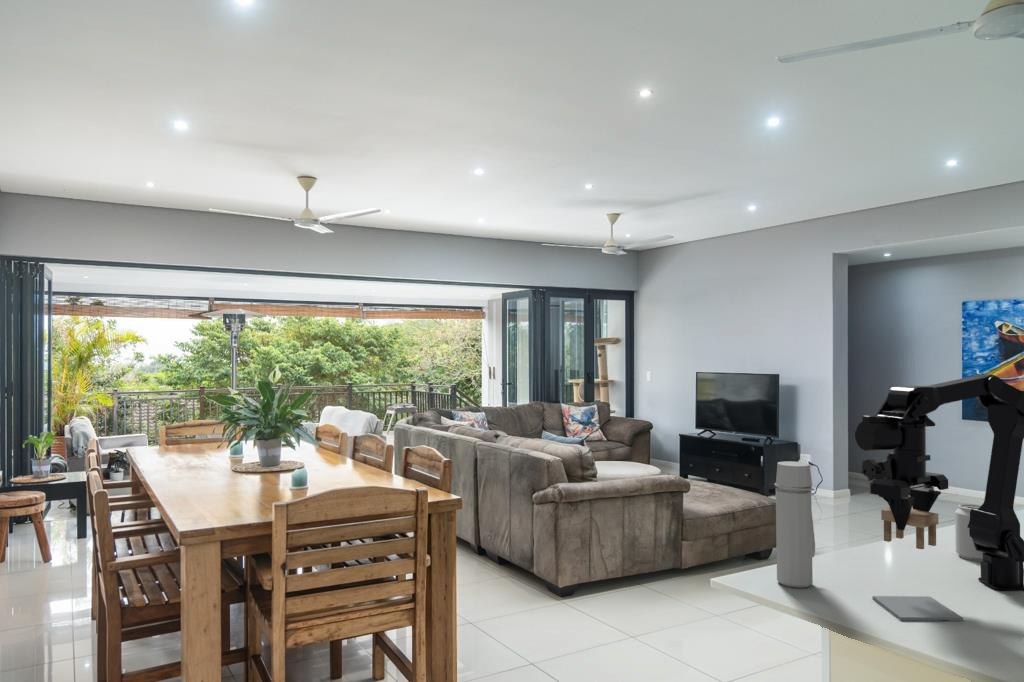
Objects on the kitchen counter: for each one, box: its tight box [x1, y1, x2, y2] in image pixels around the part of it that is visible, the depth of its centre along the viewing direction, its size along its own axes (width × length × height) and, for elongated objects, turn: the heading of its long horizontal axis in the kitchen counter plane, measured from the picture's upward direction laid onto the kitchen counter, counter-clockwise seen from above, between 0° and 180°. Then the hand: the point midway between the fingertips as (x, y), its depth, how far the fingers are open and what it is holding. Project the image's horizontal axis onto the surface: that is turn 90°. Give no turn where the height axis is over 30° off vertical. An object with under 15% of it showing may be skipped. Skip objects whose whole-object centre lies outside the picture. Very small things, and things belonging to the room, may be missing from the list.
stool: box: [880, 507, 939, 550], centre depth 141 cm, size 6×8×6 cm
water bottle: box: [773, 460, 816, 589], centre depth 149 cm, size 9×8×25 cm
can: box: [954, 503, 984, 562], centre depth 166 cm, size 8×8×12 cm
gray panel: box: [872, 595, 964, 622], centre depth 133 cm, size 11×11×1 cm
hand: (909, 527), depth 141 cm, fingers closed on stool, 6 cm apart
